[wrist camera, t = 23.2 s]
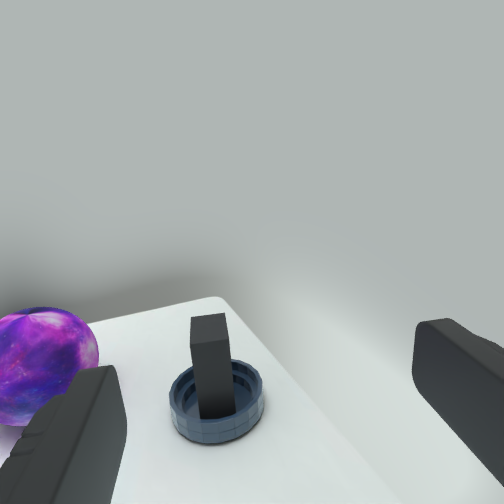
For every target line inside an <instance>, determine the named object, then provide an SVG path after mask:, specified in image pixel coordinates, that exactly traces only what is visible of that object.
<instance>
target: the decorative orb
mask: <svg viewBox="0 0 504 504" xmlns="http://www.w3.org/2000/svg"><path fill="white" fill-rule="evenodd" d="M98 361H99V351H98V345H97V341H96V338H95V336H94V334H93V332H92V331H91V329H90V328H89V327H88V325H87V324H86V323H85V322H84V321H83V320H81V319H80V318H79V317H77V316H76V315H74V314H72V313H70V312H68V311H65V310H62V309H58V308H52V307H36V308H28V309H24V310H20V311H17V312H15V313H12V314H10V315H7V316H5V317H4V318H2V319H0V423H1V424H5V425H11V426H27V425H28V423H29V422H30V420H31V418H32V417H33V415H34V414H35V413H36V412H37V411H38V410H39V409H40V408H41V407H42V406H43V405H45V404H46V403H47V402H48V401H49V400H50V399H51V398H52V397H53V396H54V395H60V394H65V393H66V391H67V389H68V387H69V385H70V383H71V382H72V380H73V378H74V376H75V374H76V373H77V371H78V370H80V369H87V368H94V367H98Z"/></svg>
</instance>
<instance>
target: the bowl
mask: <svg viewBox="0 0 504 504" xmlns="http://www.w3.org/2000/svg"><path fill="white" fill-rule="evenodd" d="M231 365H232V375H233V385H234V395H235V406H236V413H235V414H233V415H231V416H227V417H224V418H220V419H205V420H203V419H200V414H199V407H198V400H197V393H196V385H195V378H194V371H193V366H192V367H190V368H188V369H187V370H186V371H184V372H183V373H182V374H180V375H179V376H178V378H177V379H176V380H175V381H174V382H173V384H172V387H171V390H170V392H169V400H170V408H171V413H172V419H173V423H174V425H175V426H176V428H177V430H178V431H179V433H181V434H182V435H184V436H185V437H187V438H188V439H190V440H193V441H197V442H201V443H221V442H225V441H228V440H231V439H235V438H237V437H239V436H240V435H242V434H244V433H245V432H247V431H249V430H250V429H251V428H252V427H253V426H254V424H255V423H256V422H257V421H258V420H259V418H260V416H261V413H262V411H263V385H262V379H261V377H260V375H259V373H258V371H257V370H256V369H254V368H253V367H252V366H251V365H249V364H247V363H245V362H242V361H240V360H234V359H231Z"/></svg>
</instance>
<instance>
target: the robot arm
mask: <svg viewBox="0 0 504 504" xmlns="http://www.w3.org/2000/svg"><path fill="white" fill-rule="evenodd" d="M412 376H413V380H414V383H415V386H416V388H417V389H418V391H419V393H420V394H421V395H422V396H423V398H424V399H425V400H426V401H427V402H428V403H429V404H430V405H431V406H432V407H433V409H434V410H435V411H436V412H437V413H438V414H439V415H440V416H441V418H442V419H443V420H444V421H445V422H446V423H447V424H448V425H449V427H451V429H452V430H453V431H454V432H455V433H456V434H457V435H458V437H459V438H460V439H461V440H462V441H463V442H464V443H465V444H466V445H467V446H468V448H469V449H470V450H471V451H472V452H473V453H474V454H475V456H477V458H478V459H479V460H480V461H481V462H482V463H483V464H484V465H485V467H486V468H487V469H488V470H489V471H490V472H491V473H492V474H493V476H494V477H495V478H496V479H497V480H498V481H499V482H500V483H501V484H502V486H503V487H504V348H502V347H500V346H499V345H498V344H496V343H494V342H491V341H489V340H487V339H484V338H482V337H479V336H477V335H475V334H473V333H471V332H470V331H468V330H467V329H466V328H464V327H462V326H461V325H459V324H458V323H457V322H455V321H454V320H452V319H449V318H444V319H438V320H431V321H423V322H420V323H419V324H418V325H417V327H416V332H415V342H414V352H413V364H412ZM126 436H127V419H126V413H125V408H124V404H123V399H122V395H121V390H120V386H119V382H118V377H117V373H116V370H115V368H114V366H113V365H108V366H101V367H94V368H87V369H80V370H78V371H77V373H76V374H75V376H74V378H73V380H72V382H71V383H70V385H69V387H68V389H67V391H66V393H65V394H60V395H54V396H53V397H52V398H51V399H50V400H49V401H48V402H47V403H46V404H45V405H43V406H42V407H41V408H40V409H39V410H38V411H37V412H36V413H35V414H34V415H33V417H32V418H31V420H30V422H29V423H28V425H27V427H26V428H25V430H24V431H23V433H22V437H21V439H18V441H17V443H16V444H15V446H14V447H13V449H12V451H11V452H10V457H8V458H7V459H6V460H5V462H4V463H3V465H2V467H1V468H0V504H110V503H111V499H112V495H113V491H114V487H115V483H116V479H117V475H118V471H119V467H120V463H121V459H122V455H123V451H124V447H125V443H126Z"/></svg>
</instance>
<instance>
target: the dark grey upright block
mask: <svg viewBox="0 0 504 504" xmlns="http://www.w3.org/2000/svg"><path fill="white" fill-rule="evenodd" d="M190 350H191V357H192V364H193V371H194V378H195V385H196V393H197V400H198V407H199V414H200V419H203V420H205V419H220V418H224V417H227V416H231V415H233V414H235V413H236V406H235V395H234V385H233V375H232V365H231V355H230V344H229V336H228V330H227V323H226V317H225V313H219V314H212V315H204V316H196V317H191V328H190Z"/></svg>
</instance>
